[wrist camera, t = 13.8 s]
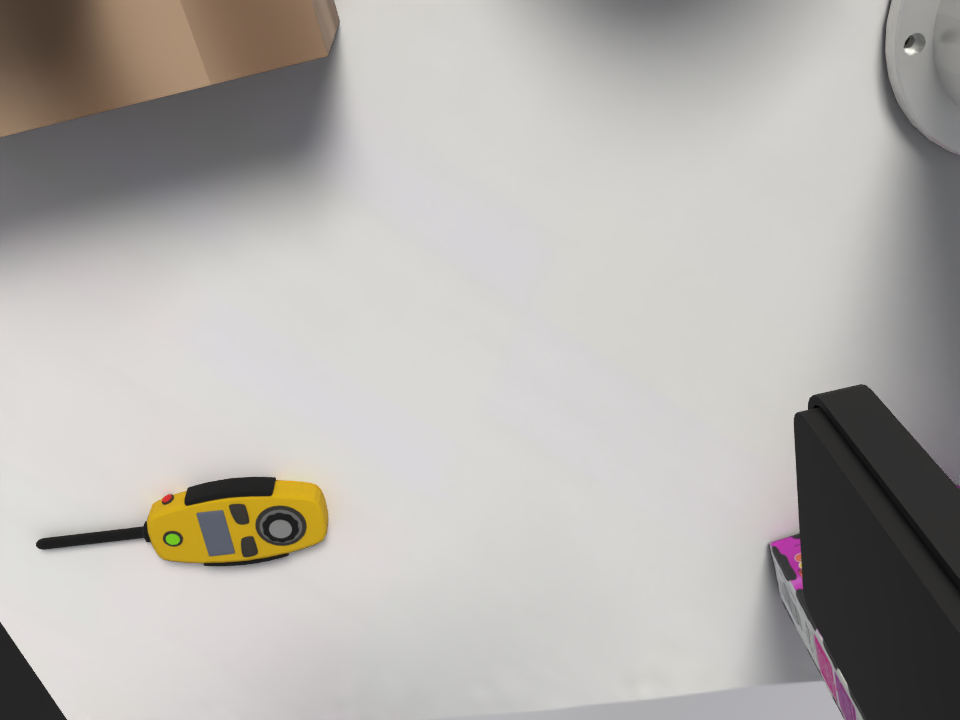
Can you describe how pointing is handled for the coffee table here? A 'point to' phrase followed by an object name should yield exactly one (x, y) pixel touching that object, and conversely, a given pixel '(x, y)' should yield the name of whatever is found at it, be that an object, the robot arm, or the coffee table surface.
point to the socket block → (143, 50)
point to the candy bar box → (810, 623)
